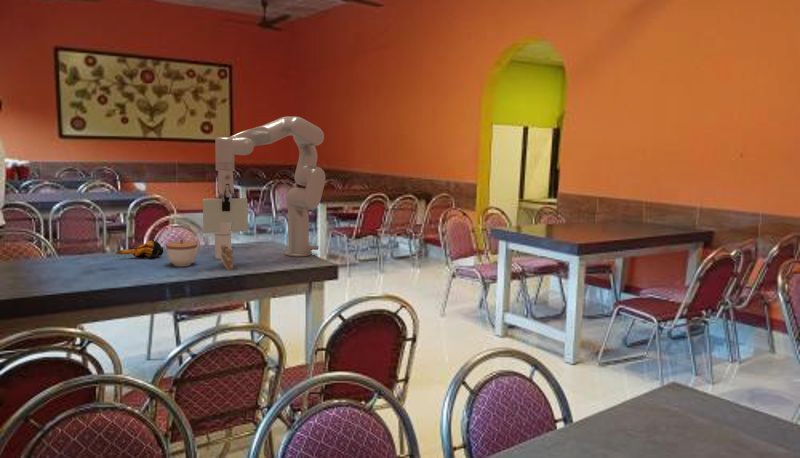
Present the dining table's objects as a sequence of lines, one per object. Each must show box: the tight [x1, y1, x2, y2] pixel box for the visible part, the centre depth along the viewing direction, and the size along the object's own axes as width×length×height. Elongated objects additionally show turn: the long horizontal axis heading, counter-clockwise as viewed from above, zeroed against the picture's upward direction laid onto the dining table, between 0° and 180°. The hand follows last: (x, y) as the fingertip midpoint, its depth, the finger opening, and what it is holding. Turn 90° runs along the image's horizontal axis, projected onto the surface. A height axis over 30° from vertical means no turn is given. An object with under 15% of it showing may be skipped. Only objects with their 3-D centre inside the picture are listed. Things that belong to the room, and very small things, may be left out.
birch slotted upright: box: [220, 245, 234, 271], centre depth 261 cm, size 2×15×8 cm, turn 27°
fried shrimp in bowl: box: [115, 238, 164, 260], centre depth 273 cm, size 9×11×18 cm
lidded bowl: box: [165, 238, 198, 267], centre depth 262 cm, size 13×13×11 cm
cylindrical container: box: [214, 222, 232, 260], centre depth 278 cm, size 7×7×25 cm
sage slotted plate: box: [202, 197, 249, 234], centre depth 258 cm, size 18×2×14 cm, turn 116°
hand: (225, 210), depth 258 cm, fingers closed on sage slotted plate, 2 cm apart
